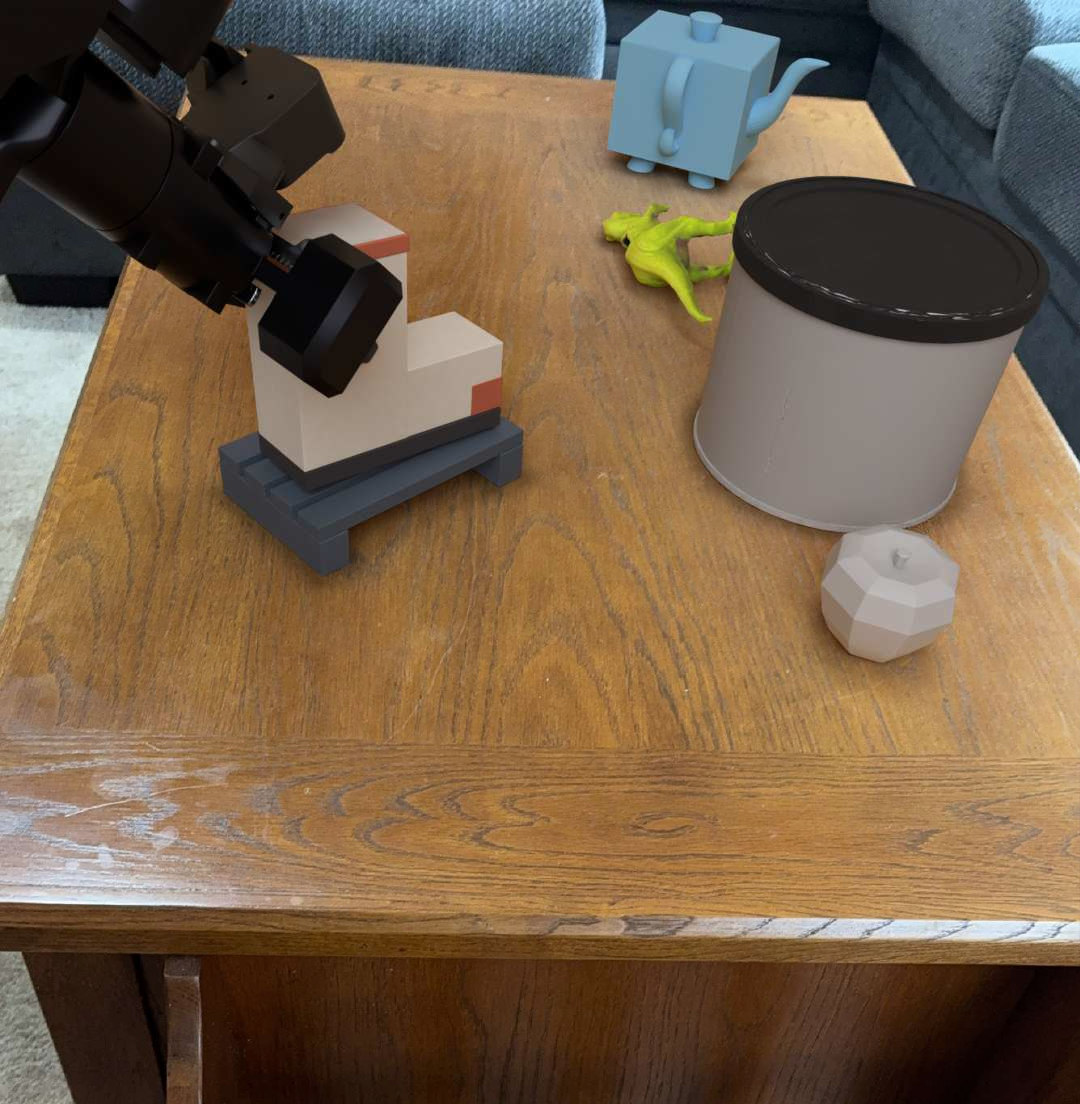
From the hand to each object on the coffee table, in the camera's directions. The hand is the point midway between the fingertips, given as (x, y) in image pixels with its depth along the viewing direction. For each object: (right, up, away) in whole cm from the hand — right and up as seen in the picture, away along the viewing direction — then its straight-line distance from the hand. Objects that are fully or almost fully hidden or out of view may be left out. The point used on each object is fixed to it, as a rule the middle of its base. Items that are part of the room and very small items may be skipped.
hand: (340, 333), depth 61 cm
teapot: (+27, +33, +48) cm, 64 cm away
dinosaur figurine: (+21, +15, +31) cm, 41 cm away
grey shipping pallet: (+1, -6, +10) cm, 11 cm away
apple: (+30, -17, +4) cm, 35 cm away
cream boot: (+1, -4, +6) cm, 8 cm away
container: (+31, -3, +17) cm, 35 cm away
